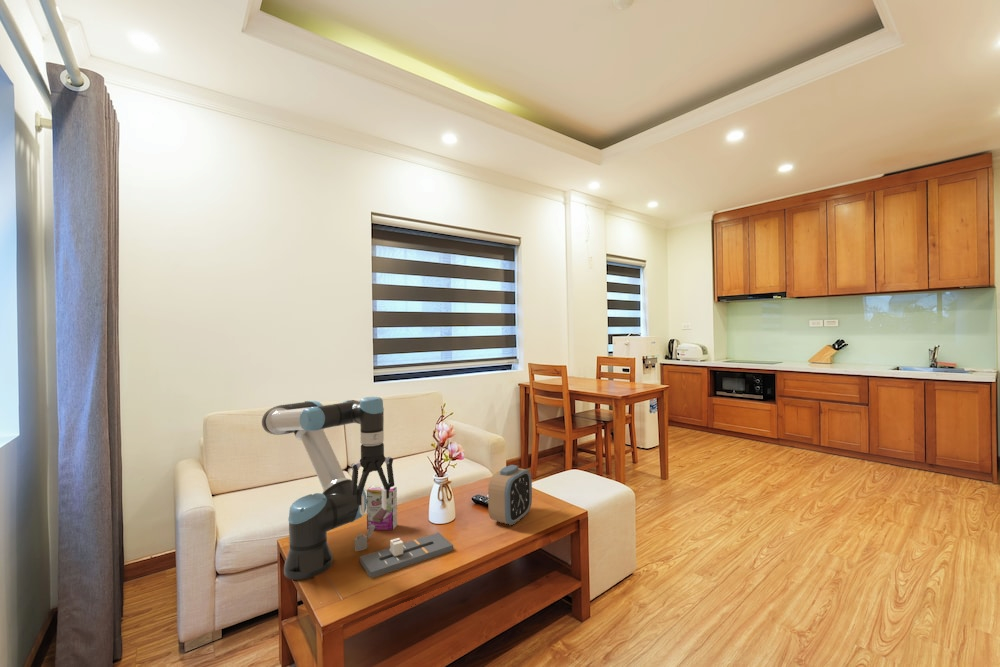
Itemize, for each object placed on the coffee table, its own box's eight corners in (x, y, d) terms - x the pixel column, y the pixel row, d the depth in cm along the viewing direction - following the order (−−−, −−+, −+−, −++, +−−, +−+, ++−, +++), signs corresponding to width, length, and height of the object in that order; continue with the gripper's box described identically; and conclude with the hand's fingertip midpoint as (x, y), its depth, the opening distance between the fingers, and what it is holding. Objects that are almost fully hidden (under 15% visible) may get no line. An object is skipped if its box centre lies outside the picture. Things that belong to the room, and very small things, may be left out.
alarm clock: (508, 532, 166) (508, 477, 166) (488, 526, 171) (487, 473, 171) (532, 512, 184) (532, 463, 184) (513, 508, 189) (513, 460, 189)
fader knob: (394, 562, 144) (394, 544, 144) (390, 556, 148) (389, 539, 148) (403, 559, 146) (403, 541, 146) (398, 553, 150) (398, 537, 150)
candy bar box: (366, 530, 170) (365, 489, 170) (371, 524, 175) (370, 485, 175) (393, 531, 169) (392, 490, 169) (397, 525, 174) (397, 485, 174)
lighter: (355, 551, 153) (355, 529, 153) (354, 549, 155) (354, 527, 155) (375, 546, 157) (375, 525, 157) (374, 544, 158) (374, 523, 158)
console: (370, 578, 136) (370, 571, 136) (360, 562, 146) (359, 555, 146) (453, 550, 153) (453, 544, 153) (438, 537, 163) (438, 531, 163)
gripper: (345, 450, 134) (346, 522, 134) (404, 441, 145) (405, 507, 145) (339, 445, 140) (340, 514, 140) (396, 436, 151) (397, 500, 151)
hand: (373, 511), depth 143 cm, fingers open, 7 cm apart
